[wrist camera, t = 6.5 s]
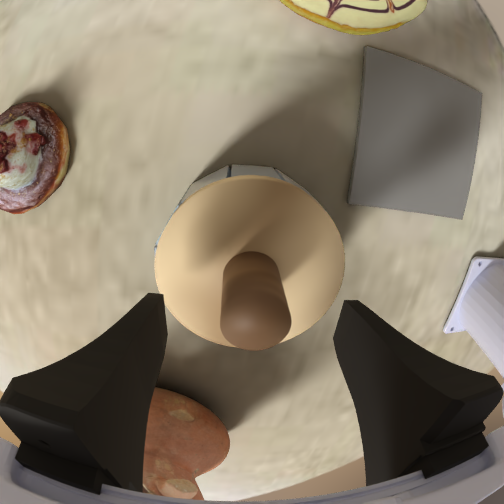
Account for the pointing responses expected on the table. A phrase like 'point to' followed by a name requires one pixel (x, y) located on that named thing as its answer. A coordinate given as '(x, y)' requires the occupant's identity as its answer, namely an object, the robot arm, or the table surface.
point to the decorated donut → (358, 13)
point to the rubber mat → (413, 138)
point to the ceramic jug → (180, 445)
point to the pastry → (31, 156)
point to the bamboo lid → (249, 262)
